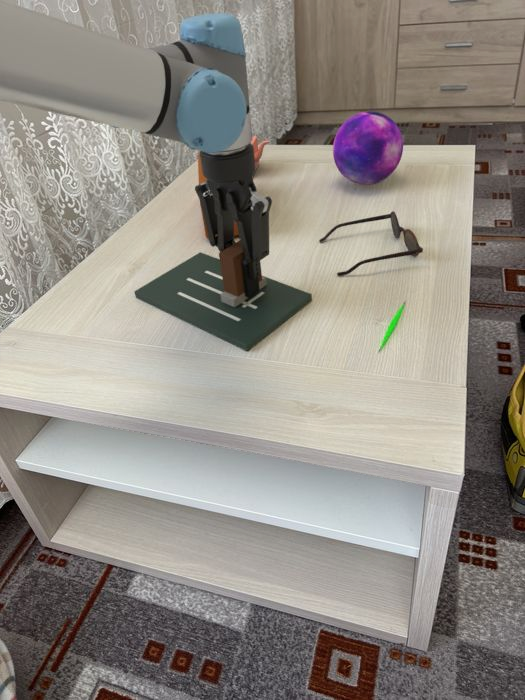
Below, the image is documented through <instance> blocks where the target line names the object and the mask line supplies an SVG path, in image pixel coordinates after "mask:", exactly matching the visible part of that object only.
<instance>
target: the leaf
mask: <svg viewBox="0 0 525 700" xmlns="http://www.w3.org/2000/svg"><path fill="white" fill-rule="evenodd" d="M405 303H406V301H404V302H403V304H402V305H401V306H400V308H399V309H398V310H397V312H396V314H395V315H394V317H393V318H392V320H391V322H390V323H389V324H388V327H387V329H386V331H385V334H384V336H383V339H382V342H381V344H380V347H379V349H378V354H379V353H380V352H381V350H382V348H383V347H384V345H385V344H386V342H387V341H388V339H389V337H390V336H391V334H392V333H393V332H394V330H395V328H396V326H397V324H398V322H399V319H400V317H401V315H402V311H403V309H404V306H405Z"/></svg>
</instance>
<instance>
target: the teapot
mask: <svg viewBox="0 0 525 700" xmlns="http://www.w3.org/2000/svg"><path fill="white" fill-rule="evenodd" d="M252 139H253V140H252V142H251V144H252V145H253V147H254V157H255V171H254V173H255V172H256V170H257V168H258V167H259V165H260V159H261V158H262V156H263V152H264V148H265V145H266V144H268V143H269V142H270V140H263V141H261V142H260V143H259V142H258V141H259V140H258V136H256V135H254V136H253V135H252Z"/></svg>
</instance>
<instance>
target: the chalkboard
mask: <svg viewBox="0 0 525 700" xmlns="http://www.w3.org/2000/svg"><path fill="white" fill-rule="evenodd" d="M263 276H264V277H266V283H267V285H266V286H264V287H263V288H261V289H260V290H259V291H257V292H256V293H255V294H253V295H252V296H251V297H249V298H247V299H246V300H245V301H243V302H242V303H240V304H239V305H238V306H236V307H232V306H230V305H228V304H226V303H223V302H222V301H221V295H220V294H222V293H223V292H225V291H224V285H223V278H222V271H221V265H220V258H217V257H214V256H211V255H208V254H206V253H204V252H198V253H197V254H195V255H193V256H191V257H190V258H188V259H186V260H185V261H183V262H181V263H179V264H178V265H175V266H174V267H173V268H171V269H170V270H168V271H166V272H164V273H162V274H161V275H159V276H157V277H156V278H154V279H153V280H151V281H149V282H147V283H146V284H144V285H142V286H141V287H139V288H138V289H136V290H134V292H133V293H134V296H135V298H136V299H138V300H140V301H143V302H145V303H147V304H148V305H151V306H153V307H155V308H156V309H159V310H161V311H163V312H165V313H168V314H170V315H171V316H173V317H176V318H177V319H179V320H182V321H184V322H186V323H187V324H190V325H192V326H194V327H196V328H198V329H200V330H202V331H204V332H206V333H209V334H211V335H212V336H215V337H216V338H219V339H221V340H223V341H225V342H227V343H229V344H232V345H233V346H235V347H238V348H240V349H242V350H244V351H246V352H248V351H249V350H251V349H252V348H254V347H255V346H256V345H257V344H259V343H260V342H262V340H264V339H265V338H266V337H267V336H269V335H270V334H271V333H272V332H274V331H275V330H276V329H277V328H279V327H280V326H281V325H283V324H284V323H285V322H286V321H288V320H289V319H290V318H292V317H293V316H294V315H295V314H296V313H298V312H299V311H301V310H302V309H303V308H304V307H305V306H307V305H308V304H309V303H310V302H312V301H313V294H312V293H310V292H307V291H304V290H302V289H298V288H296V287H293V286H292V285H288V284H286V283H283V282H280V281H278V280H275V279H272V278H269V277H268V276H265V275H263Z"/></svg>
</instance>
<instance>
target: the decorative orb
mask: <svg viewBox="0 0 525 700" xmlns="http://www.w3.org/2000/svg"><path fill="white" fill-rule="evenodd" d="M403 153H404V140H403V134H402V131H401V130H400V127H399V126H398V124H397V123H396V122H395V121H394V120H393V119H392V118H391V117H389V116H388V115H386V114H385V113H382V112H379V111H372V110H371V111H368V110H367V111H362V112H359V113H356V114H353V115H352V116H351V117H349V118H347V119H346V121H344V122H343V124H342V125H340V127H339V129H338V130H337V132H336V134H335V137H334V139H333V146H332V156H333V162H334V163H335V166H336V168H337V170H338V171H339V173H340V174H341V176H343V177H344V178H345V179H347V180H348V181H350V182H352V183H354V184H357V185H362V186H369V185H375V184H378V183H380V182H382V181H384V180H386V179H387V178H388V177H390V176H391V175H392V174H393V173H394V172H395V171H396V169H397V168H398V166H399V164H400V162H401V160H402V157H403Z"/></svg>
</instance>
